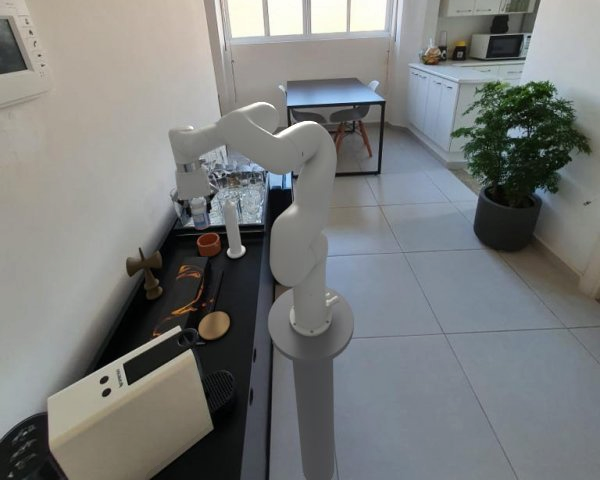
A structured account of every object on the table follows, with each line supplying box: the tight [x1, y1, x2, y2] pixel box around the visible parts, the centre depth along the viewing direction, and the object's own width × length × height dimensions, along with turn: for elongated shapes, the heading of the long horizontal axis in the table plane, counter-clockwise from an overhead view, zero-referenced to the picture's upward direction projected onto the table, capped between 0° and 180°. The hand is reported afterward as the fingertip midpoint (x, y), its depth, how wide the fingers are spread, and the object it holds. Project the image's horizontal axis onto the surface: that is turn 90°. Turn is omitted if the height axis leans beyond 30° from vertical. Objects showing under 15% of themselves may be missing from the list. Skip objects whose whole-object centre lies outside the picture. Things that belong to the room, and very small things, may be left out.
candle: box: [221, 196, 246, 259], centre depth 116 cm, size 7×7×25 cm
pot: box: [196, 232, 222, 258], centre depth 122 cm, size 8×8×5 cm
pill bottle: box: [190, 197, 212, 230], centre depth 105 cm, size 6×5×10 cm
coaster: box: [198, 311, 231, 341], centre depth 92 cm, size 9×9×1 cm
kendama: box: [125, 246, 163, 301], centre depth 100 cm, size 6×10×20 cm, turn 110°
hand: (199, 213), depth 104 cm, fingers closed on pill bottle, 5 cm apart
